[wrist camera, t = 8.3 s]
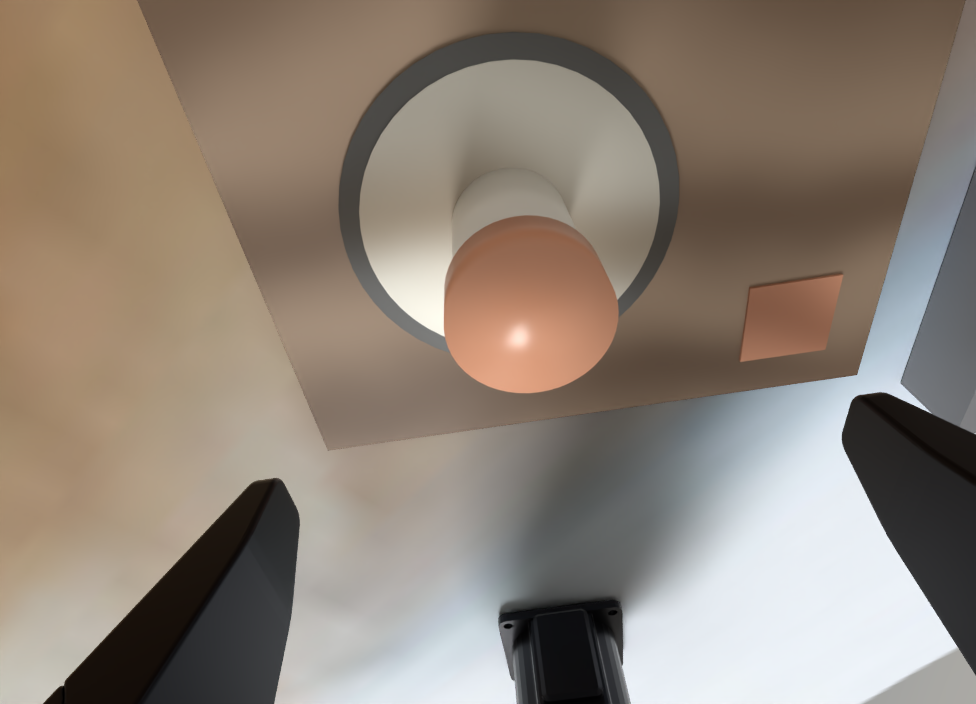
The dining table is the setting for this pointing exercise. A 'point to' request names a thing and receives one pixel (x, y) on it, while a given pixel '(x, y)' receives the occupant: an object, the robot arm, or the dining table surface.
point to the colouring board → (561, 180)
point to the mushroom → (524, 287)
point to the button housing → (950, 331)
